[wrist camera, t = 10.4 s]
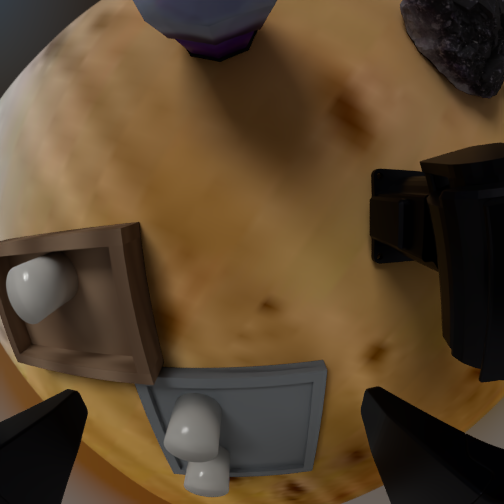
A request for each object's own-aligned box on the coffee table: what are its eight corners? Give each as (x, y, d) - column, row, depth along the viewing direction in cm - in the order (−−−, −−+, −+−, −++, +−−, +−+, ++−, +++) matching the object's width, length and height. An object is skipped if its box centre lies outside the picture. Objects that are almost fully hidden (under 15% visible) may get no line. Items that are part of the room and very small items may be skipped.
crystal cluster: (504, 101, 16) (565, 82, 6) (438, 106, 16) (528, 67, 6) (447, 3, 14) (491, -32, 4) (362, -14, 14) (406, -78, 4)
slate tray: (323, 359, 20) (327, 370, 19) (310, 461, 23) (312, 470, 22) (137, 365, 20) (131, 375, 19) (176, 464, 23) (174, 473, 22)
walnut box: (139, 222, 18) (120, 228, 15) (163, 362, 20) (153, 385, 17) (5, 239, 17) (-16, 246, 15) (33, 347, 20) (17, 361, 17)
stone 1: (82, 302, 18) (50, 327, 14) (47, 299, 18) (14, 321, 13) (73, 250, 17) (35, 266, 13) (38, 251, 17) (1, 266, 13)
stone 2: (207, 387, 20) (200, 428, 15) (229, 418, 20) (227, 458, 16) (166, 398, 20) (153, 436, 15) (189, 427, 21) (182, 464, 16)
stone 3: (233, 447, 21) (232, 483, 17) (226, 466, 22) (225, 499, 18) (191, 439, 21) (185, 475, 17) (188, 459, 22) (182, 492, 18)
